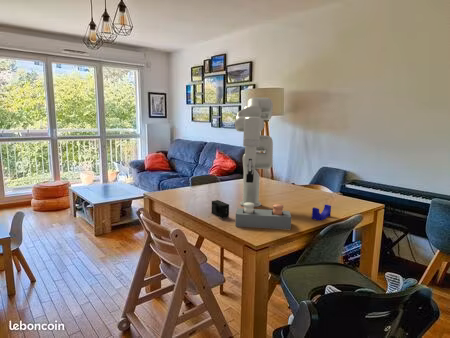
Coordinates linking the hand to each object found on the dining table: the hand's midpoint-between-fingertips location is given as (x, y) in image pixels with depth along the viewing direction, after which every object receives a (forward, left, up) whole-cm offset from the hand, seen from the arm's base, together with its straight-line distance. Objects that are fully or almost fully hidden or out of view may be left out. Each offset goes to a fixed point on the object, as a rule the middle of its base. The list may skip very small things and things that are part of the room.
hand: (249, 180), depth 146 cm
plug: (0, 0, -17) cm, 17 cm away
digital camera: (-10, -16, -22) cm, 29 cm away
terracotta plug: (0, +14, -17) cm, 22 cm away
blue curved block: (-16, +39, -22) cm, 47 cm away
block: (0, +7, -21) cm, 23 cm away
